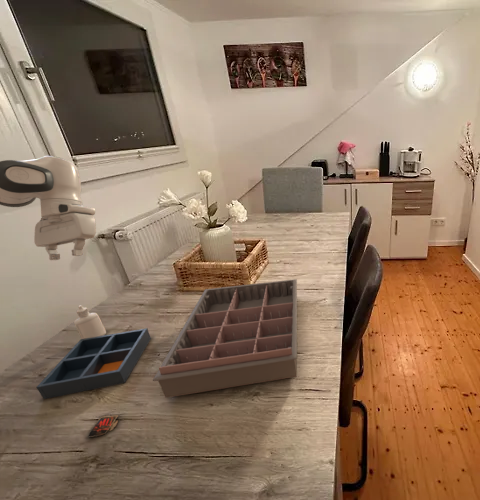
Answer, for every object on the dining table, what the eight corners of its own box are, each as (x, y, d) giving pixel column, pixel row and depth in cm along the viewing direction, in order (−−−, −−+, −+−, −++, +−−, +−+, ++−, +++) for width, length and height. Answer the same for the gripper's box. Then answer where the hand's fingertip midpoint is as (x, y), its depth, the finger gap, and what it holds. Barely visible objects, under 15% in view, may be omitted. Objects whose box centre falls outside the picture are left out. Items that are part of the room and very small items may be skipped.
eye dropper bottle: (104, 338, 88) (89, 306, 83) (82, 344, 86) (65, 312, 81) (108, 330, 92) (93, 299, 87) (86, 336, 89) (70, 305, 85)
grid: (43, 399, 68) (35, 387, 67) (86, 349, 84) (80, 339, 82) (125, 383, 72) (119, 371, 70) (151, 338, 88) (147, 328, 86)
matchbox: (86, 440, 58) (85, 438, 58) (97, 418, 63) (97, 416, 63) (113, 432, 60) (112, 430, 60) (122, 411, 64) (121, 410, 64)
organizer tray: (299, 297, 107) (296, 274, 103) (300, 382, 70) (296, 352, 66) (210, 308, 102) (203, 284, 98) (162, 405, 66) (148, 374, 62)
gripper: (25, 216, 83) (27, 262, 83) (74, 204, 78) (77, 252, 77) (52, 219, 89) (55, 262, 89) (99, 208, 84) (102, 253, 84)
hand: (65, 257), depth 83 cm, fingers open, 8 cm apart
